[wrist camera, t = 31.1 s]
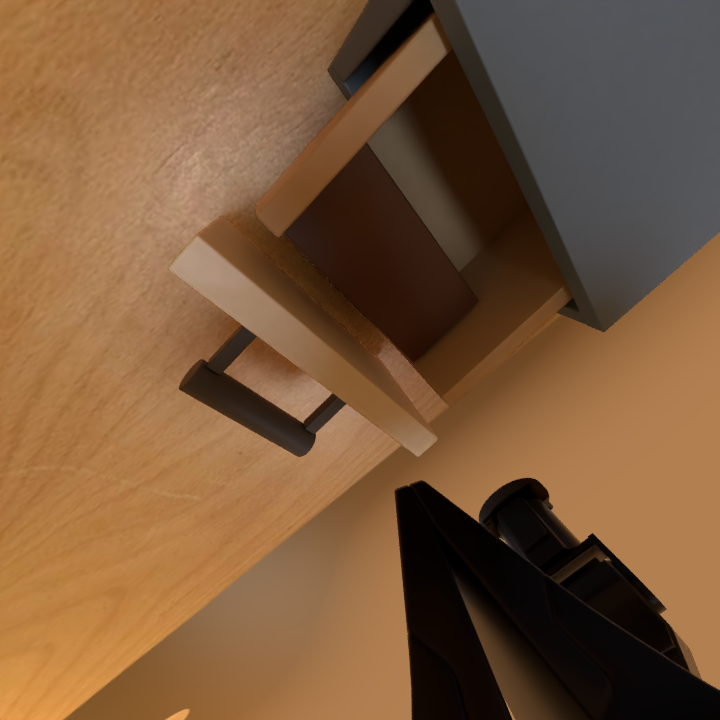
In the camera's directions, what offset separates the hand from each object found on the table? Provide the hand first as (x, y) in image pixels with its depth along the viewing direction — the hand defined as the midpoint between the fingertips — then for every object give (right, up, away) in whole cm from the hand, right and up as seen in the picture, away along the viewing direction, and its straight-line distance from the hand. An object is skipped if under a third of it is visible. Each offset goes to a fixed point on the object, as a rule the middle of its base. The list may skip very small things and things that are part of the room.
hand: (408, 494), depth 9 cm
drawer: (-1, +9, +8) cm, 12 cm away
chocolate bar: (-1, +9, +7) cm, 11 cm away
